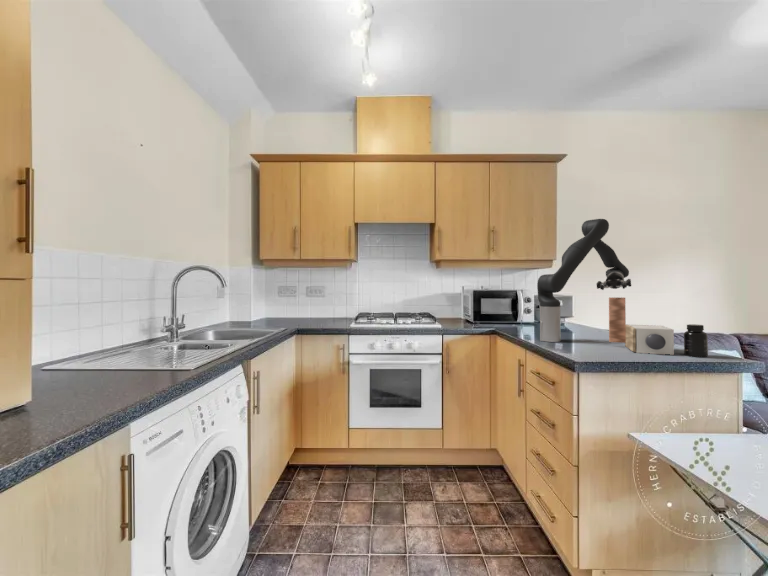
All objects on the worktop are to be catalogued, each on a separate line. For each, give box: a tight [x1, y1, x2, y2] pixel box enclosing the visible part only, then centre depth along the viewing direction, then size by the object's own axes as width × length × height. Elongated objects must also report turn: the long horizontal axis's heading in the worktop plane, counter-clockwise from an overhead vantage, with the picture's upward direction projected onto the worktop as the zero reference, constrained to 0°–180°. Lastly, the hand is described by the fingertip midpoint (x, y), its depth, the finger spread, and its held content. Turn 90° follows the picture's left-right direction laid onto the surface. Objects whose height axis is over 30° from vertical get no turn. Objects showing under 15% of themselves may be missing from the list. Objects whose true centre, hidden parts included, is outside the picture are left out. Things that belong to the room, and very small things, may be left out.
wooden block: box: [608, 297, 636, 353], centre depth 147 cm, size 7×14×22 cm, turn 156°
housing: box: [628, 324, 675, 356], centre depth 142 cm, size 12×16×10 cm
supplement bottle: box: [683, 324, 709, 358], centre depth 132 cm, size 7×7×12 cm
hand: (612, 287), depth 165 cm, fingers open, 8 cm apart
